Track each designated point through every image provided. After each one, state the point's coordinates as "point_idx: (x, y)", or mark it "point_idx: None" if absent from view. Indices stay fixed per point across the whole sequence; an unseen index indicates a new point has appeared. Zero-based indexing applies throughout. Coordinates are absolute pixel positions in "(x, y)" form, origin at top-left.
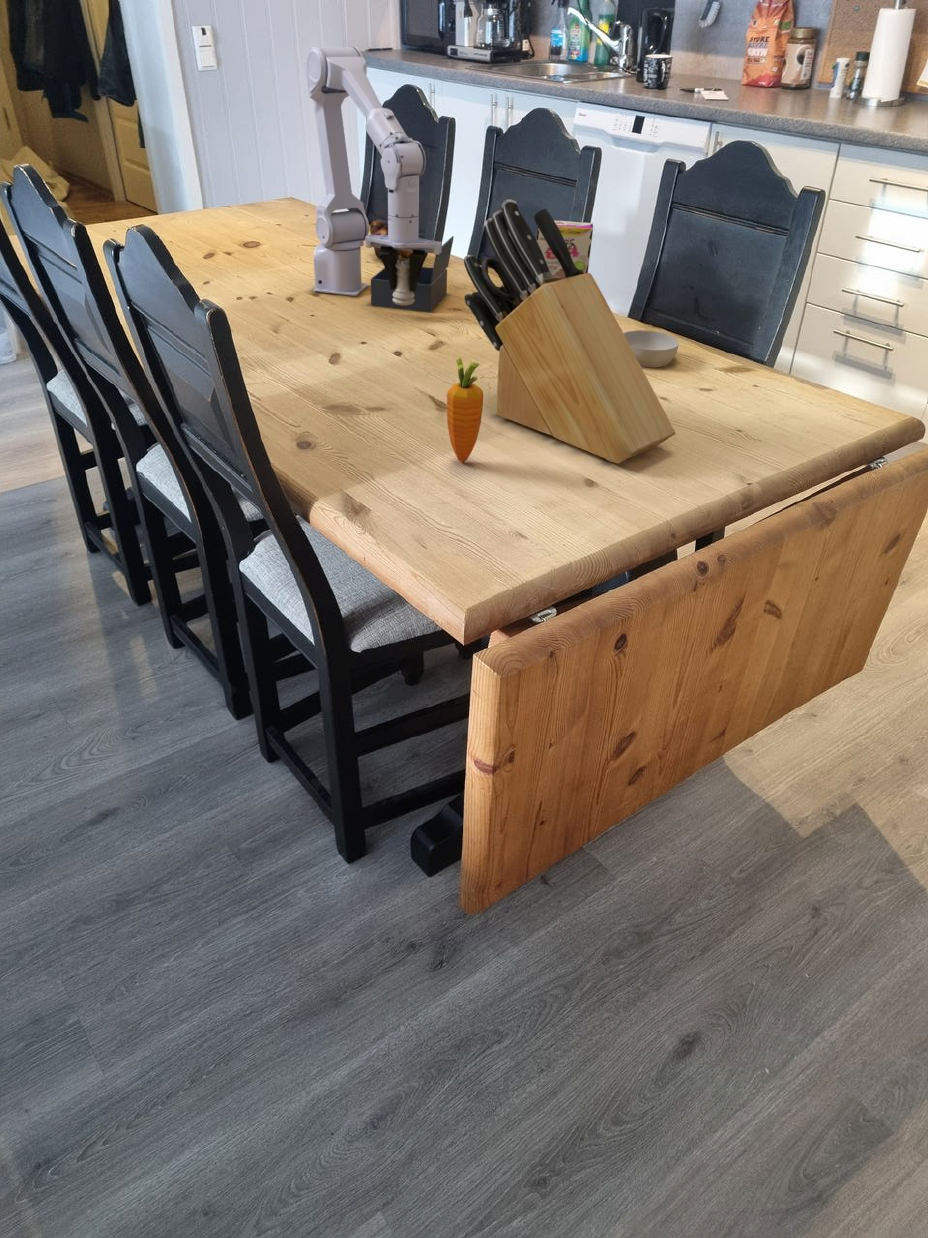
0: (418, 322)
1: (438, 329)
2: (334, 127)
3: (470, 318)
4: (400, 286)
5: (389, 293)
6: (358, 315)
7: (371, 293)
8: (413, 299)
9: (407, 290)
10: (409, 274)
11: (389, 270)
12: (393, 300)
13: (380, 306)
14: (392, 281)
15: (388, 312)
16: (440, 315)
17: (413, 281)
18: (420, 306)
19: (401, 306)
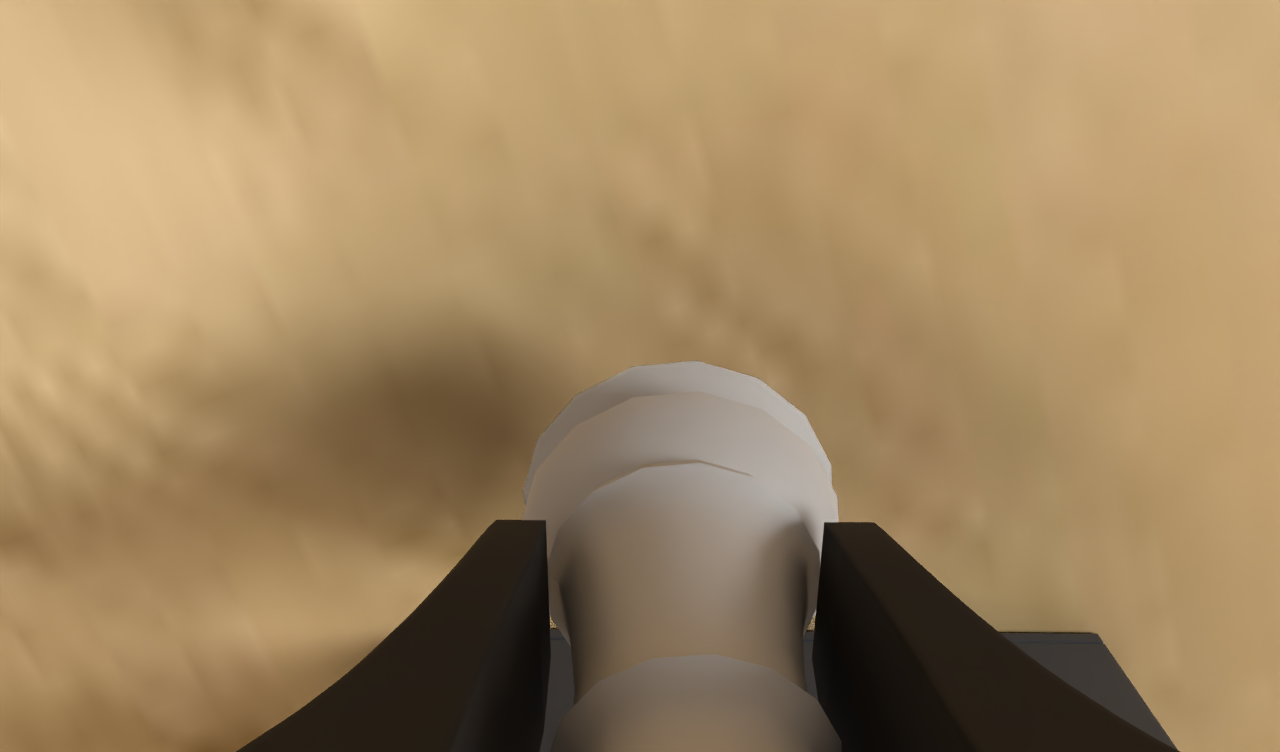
0: (451, 284)
1: (133, 116)
2: None
3: (3, 585)
4: (708, 532)
5: None
6: (1192, 288)
7: (1151, 721)
8: None
9: (591, 520)
10: (554, 739)
11: (988, 683)
12: (799, 419)
13: None
14: (869, 571)
15: (871, 493)
16: (320, 575)
17: (445, 585)
18: (553, 658)
19: None
